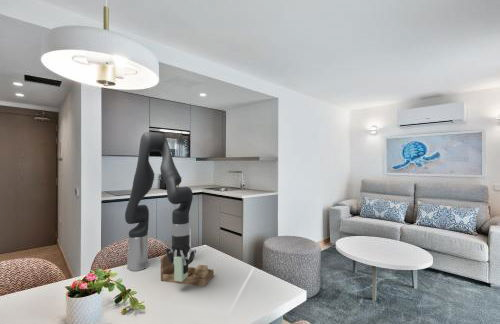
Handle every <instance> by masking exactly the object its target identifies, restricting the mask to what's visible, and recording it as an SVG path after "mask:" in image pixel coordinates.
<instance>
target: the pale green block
mask: <svg viewBox="0 0 500 324" xmlns="http://www.w3.org/2000/svg"><path fill="white" fill-rule="evenodd" d="M185 257H186V256H185ZM183 265H184V264H183V257H180V256H177V257H174V281H180V282H182V281H183V280H184V279H185V278H186V277H187V276H188V272H187V273H186V274H184V273H183Z"/></svg>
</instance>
